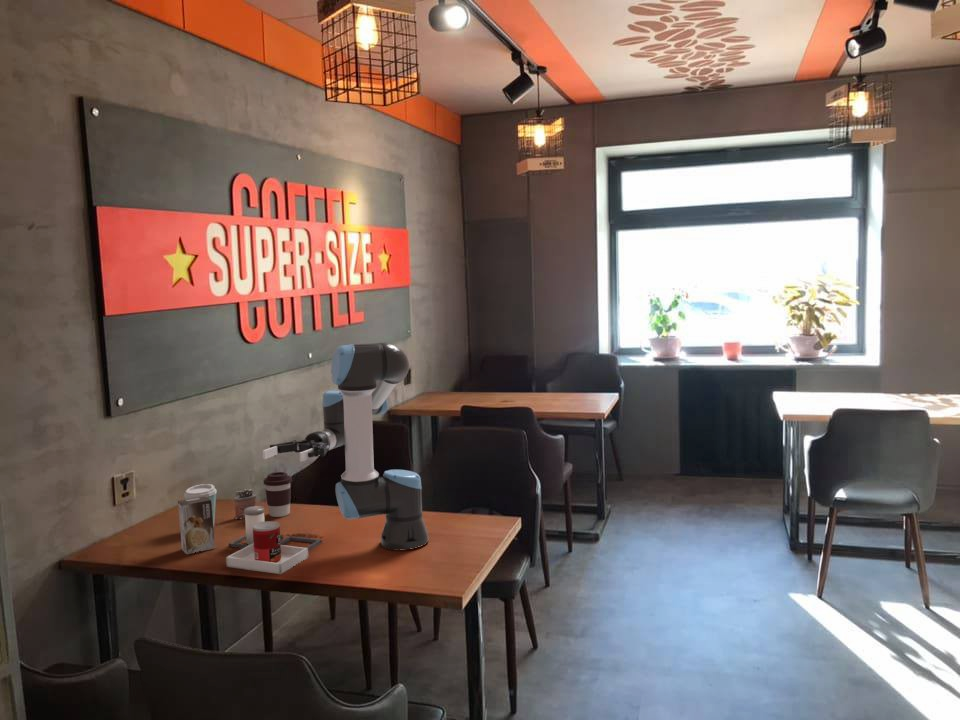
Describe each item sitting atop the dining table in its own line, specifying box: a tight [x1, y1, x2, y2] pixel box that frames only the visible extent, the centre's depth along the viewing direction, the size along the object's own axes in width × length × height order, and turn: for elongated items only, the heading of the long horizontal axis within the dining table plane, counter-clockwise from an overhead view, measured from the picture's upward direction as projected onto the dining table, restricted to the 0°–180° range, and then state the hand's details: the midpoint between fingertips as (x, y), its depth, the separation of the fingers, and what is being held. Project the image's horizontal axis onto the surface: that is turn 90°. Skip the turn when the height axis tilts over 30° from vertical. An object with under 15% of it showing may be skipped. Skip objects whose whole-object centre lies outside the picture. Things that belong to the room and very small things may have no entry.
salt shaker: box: [244, 505, 266, 545], centre depth 258 cm, size 6×6×11 cm
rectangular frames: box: [228, 534, 323, 552], centre depth 256 cm, size 27×12×1 cm, turn 68°
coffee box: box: [177, 496, 216, 555], centre depth 253 cm, size 9×6×16 cm
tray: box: [225, 543, 309, 575], centre depth 240 cm, size 19×14×3 cm
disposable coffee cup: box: [183, 483, 218, 527], centre depth 272 cm, size 11×11×15 cm
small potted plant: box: [233, 488, 257, 519], centre depth 287 cm, size 8×3×10 cm, turn 130°
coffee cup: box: [263, 471, 293, 518], centre depth 288 cm, size 10×10×15 cm
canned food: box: [253, 520, 281, 563], centre depth 240 cm, size 8×8×11 cm
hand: (282, 456), depth 247 cm, fingers open, 13 cm apart
